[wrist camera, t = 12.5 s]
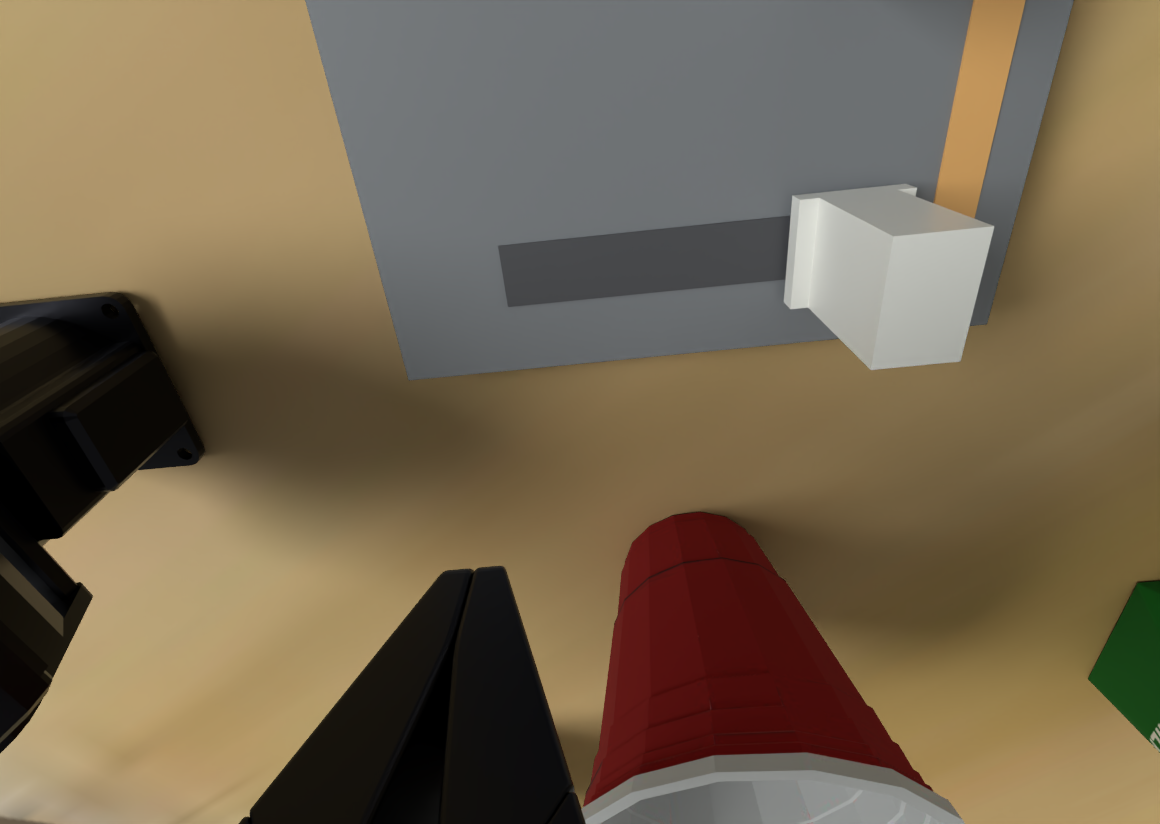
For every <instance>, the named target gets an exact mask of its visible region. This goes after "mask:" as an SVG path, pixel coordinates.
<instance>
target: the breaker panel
mask: <svg viewBox="0 0 1160 824" xmlns="http://www.w3.org/2000/svg"><path fill="white" fill-rule="evenodd" d="M305 1H306V5H307V9H308V12H309V16H310V20H311V23H312V27H313V31H314V34H315V38H316V42H317V45H318V49H319V53H320V56H321V60H322V64H323V67H324V71H325V75H326V78H327V82H328V86H329V89H330V93H331V97H332V100H333V104H334V108H335V111H336V115H337V119H338V123H339V126H340V130H341V134H342V137H343V141H344V145H345V148H346V152H347V156H348V159H349V163H350V167H351V170H352V174H353V178H354V181H355V185H356V189H357V192H358V196H359V200H360V203H361V207H362V211H363V214H364V218H365V222H366V225H367V229H368V233H369V236H370V240H371V244H372V247H373V251H374V255H375V258H376V262H377V266H378V269H379V273H380V277H381V280H382V284H383V288H384V291H385V295H386V299H387V302H388V306H389V310H390V313H391V317H392V321H393V324H394V328H395V332H396V335H397V339H398V343H399V347H400V350H401V354H402V358H403V361H404V365H405V369H406V372H407V376H408V380H418V379H429V378H439V377H449V376H460V375H470V374H480V373H490V372H501V371H511V370H521V369H532V368H542V367H552V366H563V365H573V364H583V363H594V362H604V361H614V360H624V359H635V358H645V357H655V356H666V355H676V354H686V353H697V352H707V351H717V350H728V349H738V348H748V347H758V346H769V345H779V344H789V343H800V342H810V341H820V340H831V339H839V338H838V337H837V336H836V335H835V334H834V333H833V332H832V331H831V330H830V329H829V328H828V327H827V326H826V325H825V324H824V323H823V322H822V321H821V320H820V319H819V318H818V317H817V316H816V315H815V314H814V313H813V312H812V311H811V310H810V309H809V308H799V309H790V308H789V307H788V306H787V305H786V304H785V303H784V292H785V280H786V267H787V255H788V243H789V231H790V218H791V206H792V195H802V194H811V193H821V192H830V191H840V190H850V189H859V188H869V187H879V186H888V185H898V184H908V185H911V186H914V187H916V188H917V191H916V197H918V198H921V199H923V200H926V201H929V202H931V203H934V204H937V205H939V206H942V207H945V208H947V209H950V210H953V211H955V212H958V213H961V214H963V215H966V216H969V217H971V218H974V219H977V220H979V221H982V222H985V223H987V224H990V225H993V226H994V230H993V234H992V238H991V242H990V246H989V250H988V254H987V258H986V262H985V266H984V270H983V274H982V278H981V282H980V286H979V290H978V294H977V298H976V302H975V305H974V309H973V313H972V317H971V321H970V325H969V326H975V325H985V324H987V322H988V318H989V315H990V311H991V307H992V304H993V300H994V296H995V292H996V289H997V285H998V281H999V277H1000V274H1001V270H1002V266H1003V262H1004V259H1005V255H1006V251H1007V248H1008V244H1009V240H1010V236H1011V233H1012V229H1013V225H1014V221H1015V218H1016V214H1017V210H1018V206H1019V203H1020V199H1021V195H1022V192H1023V188H1024V184H1025V180H1026V177H1027V173H1028V169H1029V165H1030V162H1031V158H1032V154H1033V151H1034V147H1035V143H1036V139H1037V136H1038V132H1039V128H1040V124H1041V121H1042V117H1043V113H1044V109H1045V106H1046V102H1047V98H1048V95H1049V91H1050V87H1051V83H1052V80H1053V76H1054V72H1055V68H1056V65H1057V61H1058V57H1059V53H1060V50H1061V46H1062V42H1063V39H1064V35H1065V31H1066V27H1067V24H1068V20H1069V16H1070V12H1071V9H1072V5H1073V1H1074V0H305Z"/></svg>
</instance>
